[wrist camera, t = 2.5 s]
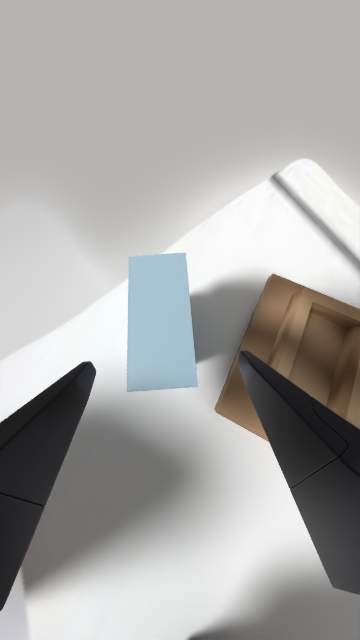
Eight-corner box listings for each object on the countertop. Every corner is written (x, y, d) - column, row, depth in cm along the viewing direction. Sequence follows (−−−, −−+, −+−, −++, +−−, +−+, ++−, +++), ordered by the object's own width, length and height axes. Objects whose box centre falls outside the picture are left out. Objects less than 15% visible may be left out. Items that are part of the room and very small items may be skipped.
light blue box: (188, 366, 17) (197, 386, 6) (161, 368, 17) (126, 391, 6) (183, 301, 19) (183, 234, 8) (159, 303, 19) (129, 238, 8)
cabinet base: (344, 481, 14) (385, 513, 11) (214, 409, 16) (221, 421, 13) (377, 323, 18) (415, 317, 15) (268, 277, 20) (283, 264, 17)
